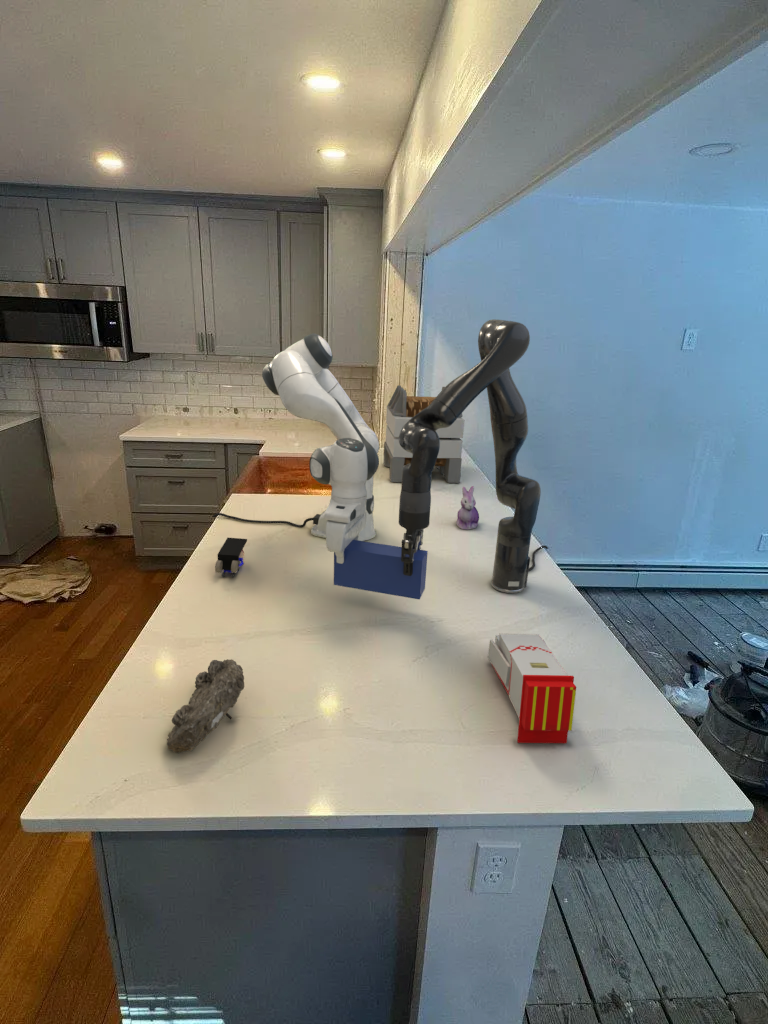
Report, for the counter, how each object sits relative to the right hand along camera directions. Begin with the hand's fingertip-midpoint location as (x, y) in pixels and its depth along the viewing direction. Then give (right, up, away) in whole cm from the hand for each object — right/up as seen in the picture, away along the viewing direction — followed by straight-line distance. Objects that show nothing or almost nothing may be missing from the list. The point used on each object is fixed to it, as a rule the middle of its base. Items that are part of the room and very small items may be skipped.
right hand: (411, 569), depth 143 cm
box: (-8, -5, +4) cm, 10 cm away
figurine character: (-52, -3, +25) cm, 57 cm away
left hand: (-16, +3, +3) cm, 17 cm away
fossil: (-40, -25, -35) cm, 58 cm away
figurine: (+24, +9, +68) cm, 72 cm away
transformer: (+10, +33, +132) cm, 137 cm away
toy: (+22, -24, -25) cm, 41 cm away
